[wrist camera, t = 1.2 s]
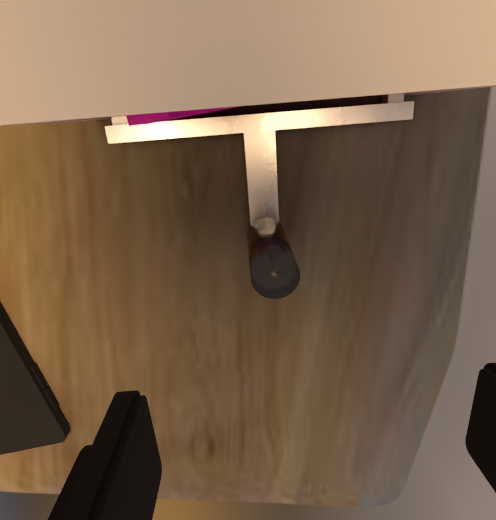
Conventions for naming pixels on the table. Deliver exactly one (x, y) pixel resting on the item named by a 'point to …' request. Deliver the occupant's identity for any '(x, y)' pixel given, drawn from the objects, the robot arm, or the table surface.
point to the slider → (264, 171)
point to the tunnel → (232, 53)
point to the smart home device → (25, 397)
